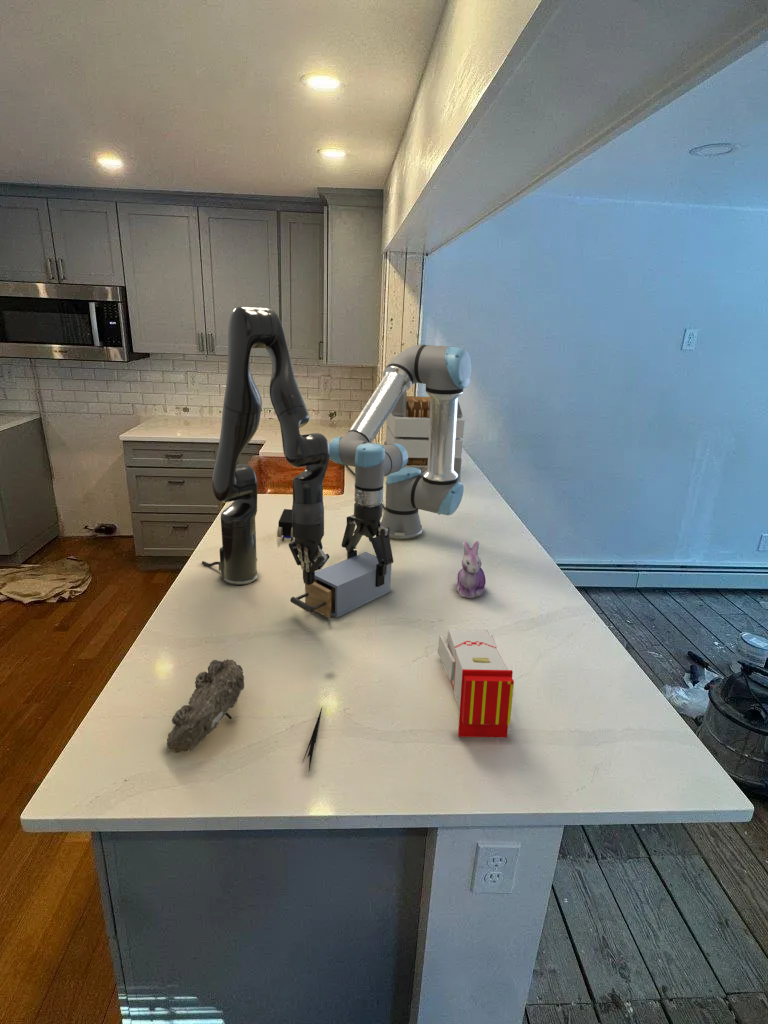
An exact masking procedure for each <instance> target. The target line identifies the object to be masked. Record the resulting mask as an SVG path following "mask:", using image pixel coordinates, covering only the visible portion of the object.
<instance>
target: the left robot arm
mask: <svg viewBox="0 0 768 1024" xmlns="http://www.w3.org/2000/svg"><path fill="white" fill-rule="evenodd" d="M227 335H228V336H227V369H226V370H227V371H226V382H225V383H226V384H225V392H224V398H223V405H222V412H221V413H222V415H221V425H220V426H221V428H220V434H219V440H218V441H219V443H218V448H217V453H216V458H215V461H214V466H213V471H212V478H211V487H212V493H213V495H214V497H215V499H216V500H218V501H219V502H220V503H230V502H232V503H231V504H230V505H228V506H227V508H225V509H224V510H223V511H221V513H220V530H221V544H222V546H221V547H220V548H219V561H214V562H211V563H208V562H207V561H203V560H202V561H201V564H202V565H204V566H205V567H213V566H215V565H218V571H220V579H221V580H222V581H224V582H225V583H227V584H229V585H233V586H234V585H235V586H241V585H248V584H251V583H253V582H255V581H256V580H257V579H258V577H259V576H258V556H257V532H256V529H257V528H256V515H257V513H258V491H259V490H258V489H259V488H258V478H257V474H256V471H255V470H254V468H253V467H252V466H251V465H249V464H247V463H240V464H238V463H239V459H240V457H241V455H242V454H243V452H244V450H245V448H246V447H247V446H248V444H249V443H250V442H251V440H252V439H253V437H254V436H255V435H256V433H257V431H258V428H259V426H260V421H261V414H262V407H263V400H262V397H261V393H260V391H259V388H258V387H257V386H258V385H256V383H255V380H254V378H253V376H252V372H251V368H250V367H251V365H250V364H251V363H250V362H251V361H250V360H251V352H252V349H265V350H266V353H268V356H269V358H270V362H271V375H270V383H269V398H270V403H271V405H272V408H273V411H274V413H275V415H276V418H277V420H278V422H279V426H280V427H279V428H280V434H281V440H282V441H281V442H282V443H281V444H282V451H283V455H284V459H285V460H286V461H287V462H288V463H289V465H291V466H292V467H294V468H303V467H304V470H303V471H302V472H300V473H299V474H297V475H295V476H294V477H293V480H292V505H291V510H292V532H293V539H294V541H292V542H289V543H288V548H289V550H290V552H291V554H292V557H293V558H294V561H295V563H296V565H297V566H300V569H301V570H302V580H303V584H304V585H305V584H307V585H310V584H313V583H314V581H315V572H316V571H319V570H321V569H323V568H324V565H325V564H327V562H328V561H329V559H330V554H329V553H325V552H324V551H323V548H324V547H323V543H322V540H323V537H324V536H325V507H324V485H323V484H324V480H325V477H326V473H327V469H328V466H329V462H330V446H329V445H330V442H329V440H328V439H327V437H326V436H325V435H323V434H322V433H319V432H313V433H306V434H301V431H300V429H301V428H303V427H305V426H306V425H307V424H308V423H309V422H310V418H311V417H310V414H309V410H308V408H307V406H306V403H305V400H304V398H303V396H302V393H301V391H300V389H299V385H298V383H297V380H296V376H295V373H294V370H293V364H292V359H291V356H290V351H289V348H288V343H287V339H286V335H285V331H284V327H283V324H282V322H281V319H280V317H279V315H278V313H277V312H276V311H275V310H274V309H272V308H270V307H266V306H265V307H264V306H237V307H235V308H234V309H233V310H232V311H231V314H230V317H229V322H228V332H227Z"/></svg>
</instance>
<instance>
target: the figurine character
mask: <svg viewBox="0 0 768 1024" xmlns="http://www.w3.org/2000/svg"><path fill="white" fill-rule="evenodd" d="M277 523H278V525H277V526H278V527H277V531H276V537H277V538H281V542H285V539H290V540H289V541H290V542H289V543H292V542H294V541H293V540H294V537H293V532H292V508H291V509H290V508H289V509H288V508H284V509H283V510H282V512H281V515H280V518H279V519H278V522H277Z"/></svg>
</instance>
